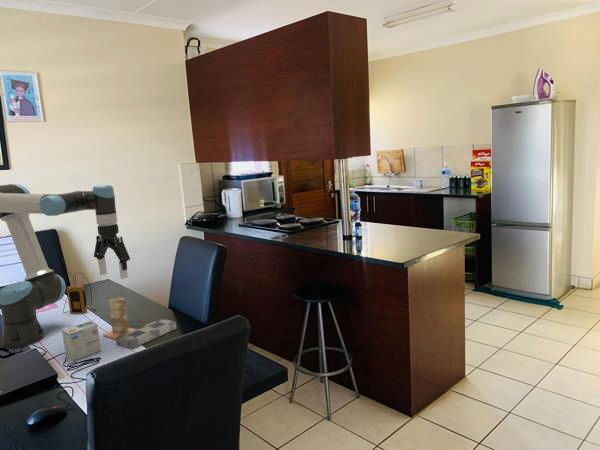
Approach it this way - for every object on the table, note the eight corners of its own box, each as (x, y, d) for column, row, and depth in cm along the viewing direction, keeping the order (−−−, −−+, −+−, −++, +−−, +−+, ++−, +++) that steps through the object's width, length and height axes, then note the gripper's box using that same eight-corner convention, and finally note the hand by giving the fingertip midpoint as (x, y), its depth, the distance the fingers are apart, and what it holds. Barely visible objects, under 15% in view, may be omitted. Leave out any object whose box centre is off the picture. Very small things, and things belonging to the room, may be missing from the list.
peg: (119, 335, 184) (115, 302, 182) (112, 333, 187) (108, 300, 184) (129, 331, 188) (125, 298, 186) (122, 329, 190) (118, 297, 188)
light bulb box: (93, 346, 176) (89, 320, 174) (101, 350, 171) (98, 323, 170) (64, 357, 168) (60, 329, 166) (73, 361, 163) (69, 333, 162)
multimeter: (102, 306, 225) (97, 267, 222) (91, 313, 215) (86, 272, 212) (74, 306, 227) (69, 267, 223) (62, 314, 217) (56, 273, 214)
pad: (118, 340, 180) (117, 338, 180) (102, 336, 186) (102, 334, 186) (139, 331, 189) (138, 330, 189) (123, 327, 194) (123, 326, 194)
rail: (131, 349, 171) (130, 341, 171) (116, 344, 176) (115, 337, 176) (176, 328, 189) (175, 321, 189) (161, 325, 194) (161, 318, 194)
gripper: (135, 224, 176) (141, 276, 180) (97, 221, 190) (103, 270, 193) (118, 227, 170) (125, 281, 174) (80, 224, 184) (87, 275, 187)
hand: (113, 276), depth 183 cm, fingers open, 13 cm apart
